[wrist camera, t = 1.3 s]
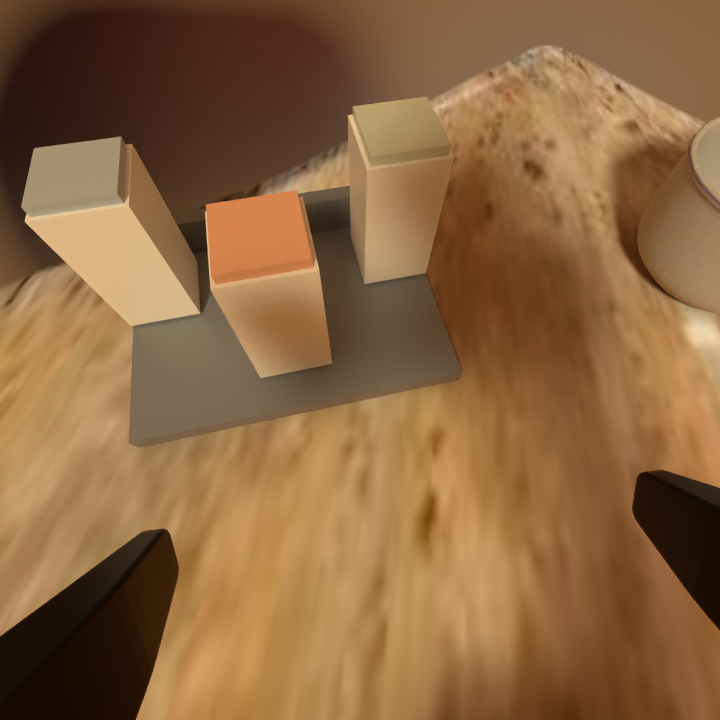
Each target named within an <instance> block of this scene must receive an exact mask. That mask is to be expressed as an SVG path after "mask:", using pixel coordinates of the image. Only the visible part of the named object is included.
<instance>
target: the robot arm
mask: <svg viewBox="0 0 720 720" xmlns="http://www.w3.org/2000/svg"><path fill="white" fill-rule="evenodd" d="M632 510H633V514H634V517H635V519H636V521H637V522H638V524H639V525H640V527H641V528H642V529H643V531H644V532H645V534H646V535H647V536H648V538H649V539H650V540H651V542H652V543H653V545H654V546H655V547H656V549H657V550H658V551H659V553H660V554H661V556H662V557H663V558H664V560H665V561H666V562H667V564H668V565H669V567H670V568H671V569H672V571H673V572H674V574H675V575H676V576H677V578H678V579H679V580H680V582H681V583H682V585H683V586H684V587H685V588H686V590H687V591H688V592H689V594H690V595H691V596H692V598H693V599H694V600H695V601H696V603H697V604H698V605H699V606H700V608H701V609H702V610H703V611H704V612H705V614H706V615H707V616H708V617H709V618H710V619H711V621H712V622H713V623H714V624H715V625H716V627H717V628H718V629H719V630H720V488H718V487H715V486H712V485H709V484H706V483H702V482H699V481H696V480H693V479H690V478H687V477H684V476H681V475H677V474H674V473H671V472H668V471H664V470H655V471H646V472H642V473H640V474H639V475H638V477H637V480H636V486H635V492H634V499H633V505H632ZM178 573H179V567H178V561H177V557H176V554H175V550H174V546H173V543H172V539H171V536H170V533H169V532H168V530H166V529H157V530H148V531H144V532H141V533H140V534H138V535H137V536H136V537H134V538H133V539H132V540H130V541H129V542H128V543H126V544H125V545H123V546H122V547H121V548H119V549H118V550H117V551H115V552H114V553H113V554H111V555H110V556H109V557H107V558H106V559H105V560H103V561H102V562H100V563H99V564H98V565H96V566H95V567H94V568H92V569H91V570H90V571H88V572H87V573H86V574H84V575H83V576H81V577H80V578H79V579H77V580H76V581H75V582H73V583H72V584H71V585H69V586H68V587H67V588H65V589H64V590H62V591H61V592H60V593H58V594H57V595H56V596H54V597H53V598H52V599H50V600H49V601H48V602H46V603H45V604H43V605H42V606H41V607H39V608H38V609H37V610H35V611H34V612H33V613H31V614H30V615H29V616H27V617H26V618H24V619H23V620H22V621H20V622H19V623H18V624H16V625H15V626H14V627H12V628H11V629H10V630H8V631H7V632H5V633H4V634H3V635H1V636H0V720H136V717H137V715H138V712H139V709H140V706H141V704H142V701H143V698H144V695H145V693H146V690H147V687H148V684H149V681H150V678H151V675H152V672H153V669H154V666H155V662H156V659H157V655H158V651H159V648H160V644H161V640H162V636H163V632H164V629H165V625H166V621H167V617H168V613H169V610H170V606H171V602H172V598H173V594H174V591H175V587H176V583H177V579H178Z"/></svg>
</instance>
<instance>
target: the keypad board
mask: <svg viewBox="0 0 720 720" xmlns="http://www.w3.org/2000/svg"><path fill="white" fill-rule="evenodd" d="M302 196H303V201H304V205H305V210H306V214H307V218H308V223H309V227H310V232H311V236H312V240H313V245H314V249H315V254H316V258H317V263H318V267H319V272H320V279H321V286H322V293H323V300H324V308H325V315H326V322H327V329H328V337H329V344H330V351H331V358H332V364H329V365H324V366H319V367H314V368H309V369H304V370H299V371H294V372H289V373H284V374H279V375H274V376H269V377H264V378H260V376H259V375H258V373H257V371H256V369H255V368H254V366H253V364H252V362H251V361H250V359H249V357H248V355H247V353H246V352H245V350H244V348H243V346H242V345H241V343H240V341H239V339H238V338H237V336H236V334H235V332H234V331H233V329H232V327H231V325H230V324H229V322H228V320H227V318H226V317H225V315H224V313H223V311H222V310H221V308H220V306H219V304H218V303H217V301H216V299H215V297H214V295H213V294H212V292H211V290H210V277H209V262H208V247H207V233H206V218H205V211H206V208H203V209H196V210H190V211H183V212H177V213H171V215H172V217H173V219H174V220H175V222H176V224H177V226H178V228H179V229H180V231H181V233H182V235H183V237H184V238H185V240H186V242H187V244H188V245H189V247H190V249H191V251H192V253H193V254H194V256H195V258H196V260H197V262H198V277H199V296H200V314H195V315H189V316H184V317H178V318H173V319H167V320H162V321H156V322H151V323H145V324H140V325H134V326H133V350H132V377H131V404H130V431H129V443H131V444H133V445H135V446H137V447H143V446H148V445H153V444H158V443H162V442H167V441H172V440H176V439H181V438H186V437H191V436H195V435H200V434H205V433H209V432H214V431H219V430H224V429H228V428H233V427H238V426H242V425H247V424H252V423H256V422H261V421H266V420H271V419H275V418H280V417H285V416H289V415H294V414H299V413H304V412H308V411H313V410H318V409H322V408H327V407H332V406H337V405H341V404H346V403H351V402H355V401H360V400H365V399H370V398H374V397H379V396H384V395H388V394H393V393H398V392H402V391H407V390H412V389H417V388H421V387H426V386H431V385H435V384H440V383H445V382H450V381H454V380H458V379H459V378H460V376H461V374H462V373H463V372H462V370H461V367H460V364H459V362H458V359H457V356H456V354H455V351H454V348H453V346H452V343H451V340H450V338H449V335H448V332H447V330H446V327H445V325H444V322H443V319H442V317H441V314H440V311H439V309H438V306H437V303H436V301H435V298H434V295H433V293H432V290H431V287H430V285H429V282H428V279H427V277H426V274H425V273H424V274H418V275H413V276H407V277H401V278H396V279H390V280H385V281H379V282H374V283H368V284H364V281H363V278H362V274H361V271H360V267H359V264H358V260H357V257H356V253H355V250H354V246H353V243H352V239H351V226H350V186H346V187H339V188H333V189H326V190H320V191H313V192H307V193H300V194H298V197H302Z"/></svg>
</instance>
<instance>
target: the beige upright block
mask: <svg viewBox="0 0 720 720" xmlns="http://www.w3.org/2000/svg"><path fill="white" fill-rule="evenodd" d="M348 138H349V182H350V226H351V239H352V243H353V246H354V250H355V253H356V257H357V260H358V264H359V267H360V271H361V274H362V278H363V281H364V284H368V283H374V282H379V281H385V280H390V279H396V278H401V277H407V276H413V275H418V274H424V273H426V271H427V267H428V263H429V259H430V255H431V251H432V246H433V242H434V238H435V234H436V230H437V226H438V222H439V218H440V214H441V210H442V206H443V202H444V198H445V194H446V190H447V185H448V181H449V177H450V173H451V169H452V165H453V161H454V156H453V154H452V152H451V150H450V147H451V144H450V142H449V140H448V138H447V136H446V134H445V132H444V130H443V128H442V126H441V124H440V122H439V120H438V118H437V116H436V114H435V112H434V110H433V108H432V106H431V104H430V102H429V100H428V98H427V97H421V98H413V99H406V100H398V101H391V102H384V103H376V104H368V105H361V106H354V107H353V115H348Z"/></svg>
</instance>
